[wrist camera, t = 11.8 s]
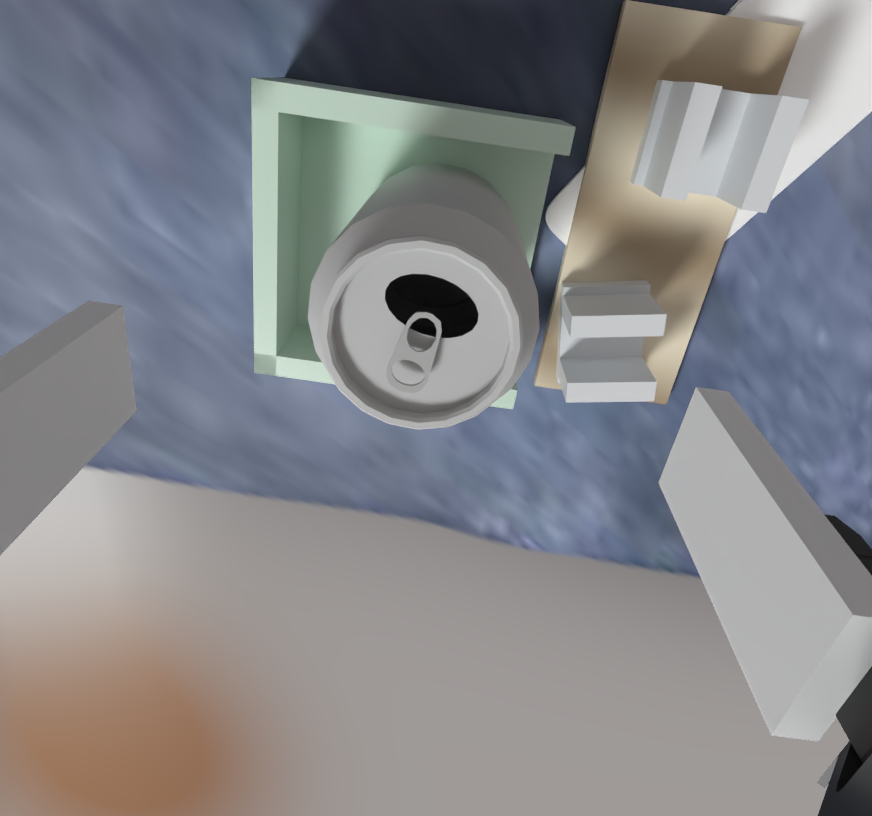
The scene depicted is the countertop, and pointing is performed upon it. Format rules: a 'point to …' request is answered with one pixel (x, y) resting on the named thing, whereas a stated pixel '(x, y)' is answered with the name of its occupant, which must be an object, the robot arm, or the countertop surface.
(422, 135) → the green open box
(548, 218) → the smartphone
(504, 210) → the can
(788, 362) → the countertop surface
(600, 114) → the board
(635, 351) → the clip
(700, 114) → the clip
